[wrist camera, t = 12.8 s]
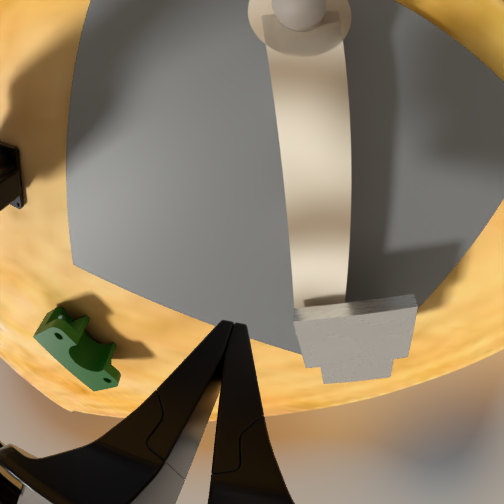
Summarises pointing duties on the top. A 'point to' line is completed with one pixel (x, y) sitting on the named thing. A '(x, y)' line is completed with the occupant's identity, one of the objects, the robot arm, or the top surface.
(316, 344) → the block
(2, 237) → the top surface
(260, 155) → the board
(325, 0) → the link
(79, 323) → the clamp
